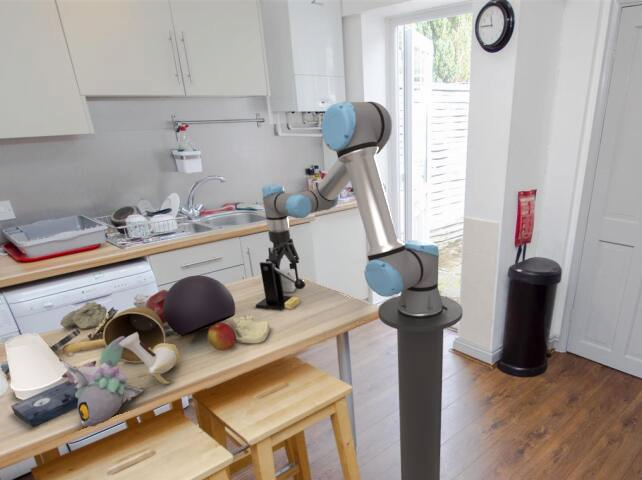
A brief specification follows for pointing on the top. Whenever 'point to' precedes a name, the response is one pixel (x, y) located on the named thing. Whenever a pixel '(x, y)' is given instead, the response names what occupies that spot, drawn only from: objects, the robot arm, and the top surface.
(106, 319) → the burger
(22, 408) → the vhs cassette tape
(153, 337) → the plant pot
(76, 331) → the toy
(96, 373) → the toy
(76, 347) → the novelty tool
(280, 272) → the slicer arm
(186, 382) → the top surface
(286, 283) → the white cardboard box
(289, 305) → the butter
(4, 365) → the wristwatch
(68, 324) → the fossil
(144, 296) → the skull
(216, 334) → the apple
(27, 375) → the cup
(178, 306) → the dark purple dome
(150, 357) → the toy gun
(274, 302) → the black lever stand
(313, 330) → the top surface
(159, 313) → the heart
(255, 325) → the lumpy plaster cast
